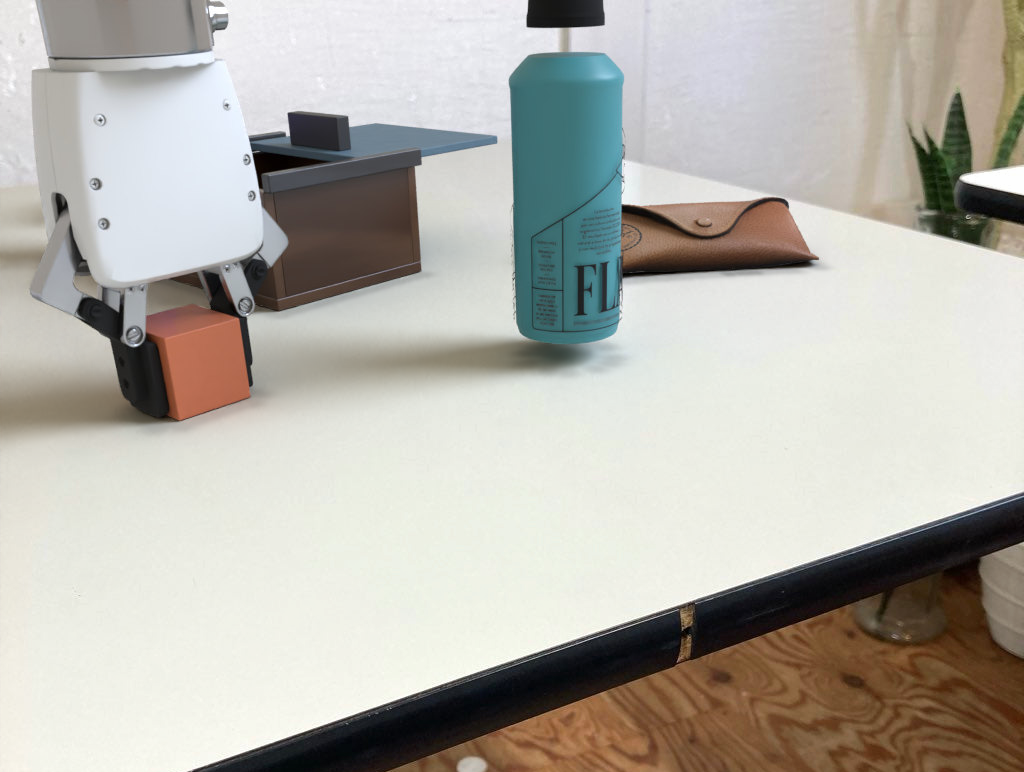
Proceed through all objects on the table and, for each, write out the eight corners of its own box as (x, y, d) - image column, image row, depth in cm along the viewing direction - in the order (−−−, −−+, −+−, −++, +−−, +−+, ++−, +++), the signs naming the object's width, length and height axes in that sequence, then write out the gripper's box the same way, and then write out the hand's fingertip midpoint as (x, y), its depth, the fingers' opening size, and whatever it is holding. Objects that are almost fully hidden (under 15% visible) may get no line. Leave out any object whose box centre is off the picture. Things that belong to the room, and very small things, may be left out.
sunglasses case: (597, 274, 77) (588, 186, 77) (579, 300, 84) (570, 219, 84) (829, 259, 79) (818, 174, 79) (792, 285, 86) (783, 207, 86)
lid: (248, 149, 84) (242, 110, 82) (376, 130, 92) (373, 94, 91) (368, 167, 75) (364, 123, 73) (497, 143, 83) (496, 103, 82)
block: (135, 401, 57) (118, 322, 55) (205, 379, 60) (192, 303, 58) (179, 421, 55) (164, 338, 53) (251, 397, 58) (239, 318, 55)
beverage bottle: (575, 378, 59) (576, -19, 50) (490, 354, 63) (476, -17, 54) (643, 348, 63) (656, -22, 54) (560, 328, 67) (558, -20, 58)
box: (153, 274, 82) (131, 152, 78) (293, 242, 91) (280, 131, 87) (285, 313, 72) (267, 175, 67) (429, 272, 80) (421, 148, 76)
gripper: (234, 22, 57) (277, 344, 65) (-92, 41, 46) (11, 426, 54) (321, 24, 52) (355, 370, 61) (-19, 45, 41) (81, 464, 50)
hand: (192, 393), depth 57 cm, fingers closed on block, 4 cm apart
